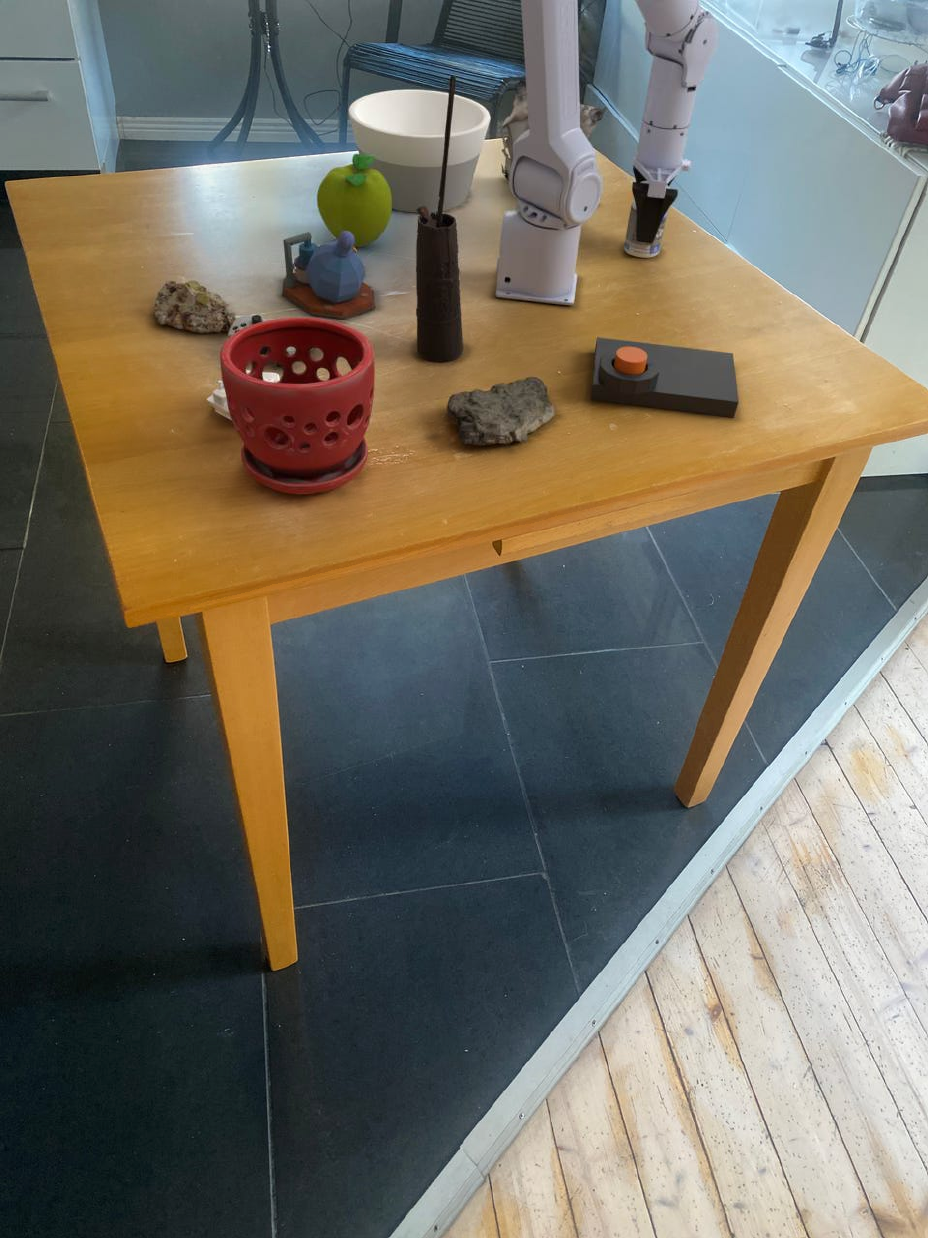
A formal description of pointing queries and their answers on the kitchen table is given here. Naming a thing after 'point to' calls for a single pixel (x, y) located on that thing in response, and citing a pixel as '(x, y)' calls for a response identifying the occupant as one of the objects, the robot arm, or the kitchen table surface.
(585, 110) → the jagged grey brown piece
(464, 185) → the bowl
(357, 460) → the plant pot
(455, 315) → the butter churn
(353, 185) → the fruit
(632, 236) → the pill bottle
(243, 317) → the game controller
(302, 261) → the model
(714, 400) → the grey push button box
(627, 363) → the button
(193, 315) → the mineral rock
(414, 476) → the kitchen table surface
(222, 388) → the toy car
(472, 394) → the stone
